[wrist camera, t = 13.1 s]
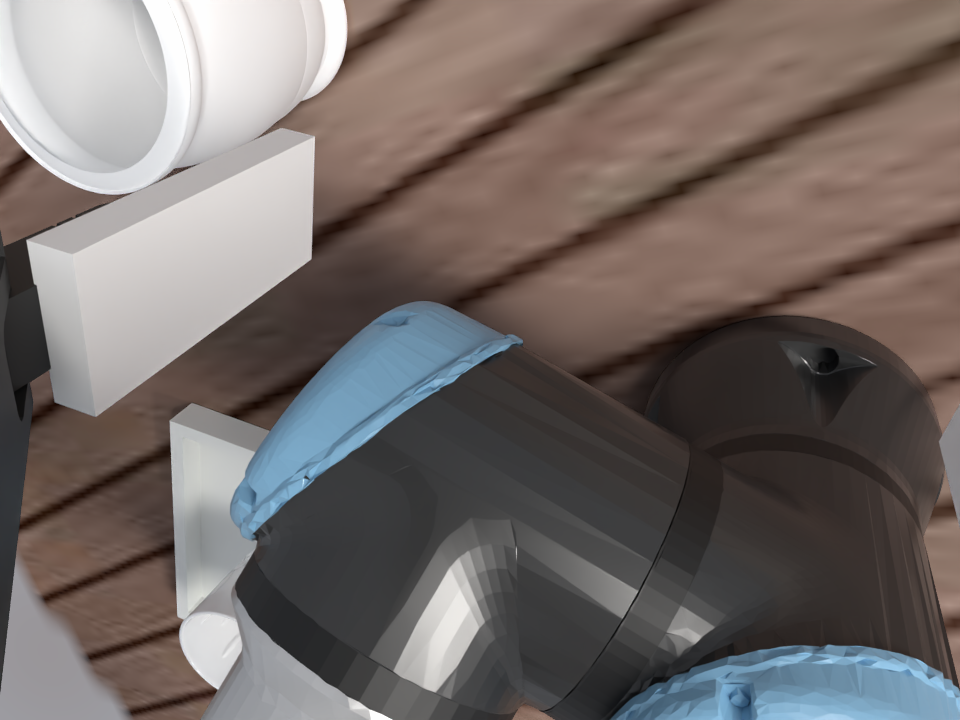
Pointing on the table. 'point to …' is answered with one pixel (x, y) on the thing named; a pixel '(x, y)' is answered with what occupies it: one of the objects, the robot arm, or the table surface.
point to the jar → (156, 80)
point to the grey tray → (207, 498)
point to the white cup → (214, 631)
